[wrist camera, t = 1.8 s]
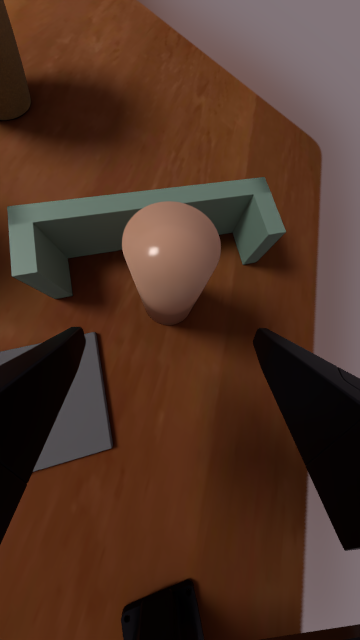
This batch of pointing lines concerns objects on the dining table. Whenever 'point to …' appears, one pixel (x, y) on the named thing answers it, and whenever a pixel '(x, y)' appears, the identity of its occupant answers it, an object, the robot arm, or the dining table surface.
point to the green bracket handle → (112, 217)
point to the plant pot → (11, 73)
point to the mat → (77, 411)
